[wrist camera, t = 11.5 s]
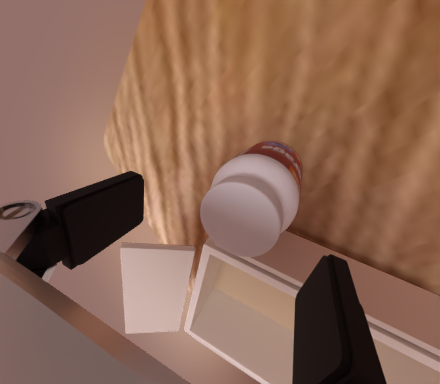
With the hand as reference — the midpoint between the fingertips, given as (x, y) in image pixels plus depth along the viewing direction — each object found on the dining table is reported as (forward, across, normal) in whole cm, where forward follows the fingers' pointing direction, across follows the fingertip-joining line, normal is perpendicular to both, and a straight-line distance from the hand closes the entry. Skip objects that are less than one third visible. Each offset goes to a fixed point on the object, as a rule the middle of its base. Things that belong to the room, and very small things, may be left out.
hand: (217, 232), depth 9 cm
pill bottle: (+13, -1, 0) cm, 13 cm away
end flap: (+5, +2, +14) cm, 15 cm away
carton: (+12, -9, +14) cm, 21 cm away
